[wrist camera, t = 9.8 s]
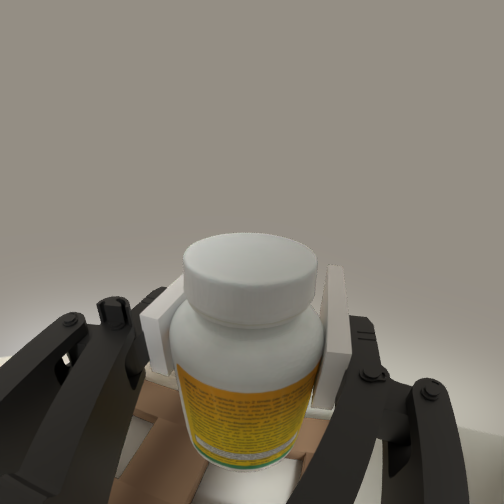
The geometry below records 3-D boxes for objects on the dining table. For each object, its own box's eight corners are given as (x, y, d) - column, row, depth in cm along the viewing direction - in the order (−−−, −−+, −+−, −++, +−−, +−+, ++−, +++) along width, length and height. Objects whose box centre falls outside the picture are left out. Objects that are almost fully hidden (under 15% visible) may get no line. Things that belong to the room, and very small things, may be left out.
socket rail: (336, 430, 20) (340, 420, 19) (315, 576, 7) (320, 576, 6) (101, 370, 25) (97, 360, 24) (24, 456, 12) (15, 447, 12)
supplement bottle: (178, 406, 13) (150, 233, 10) (267, 383, 15) (282, 221, 12) (210, 490, 9) (176, 316, 5) (317, 450, 11) (378, 273, 7)
